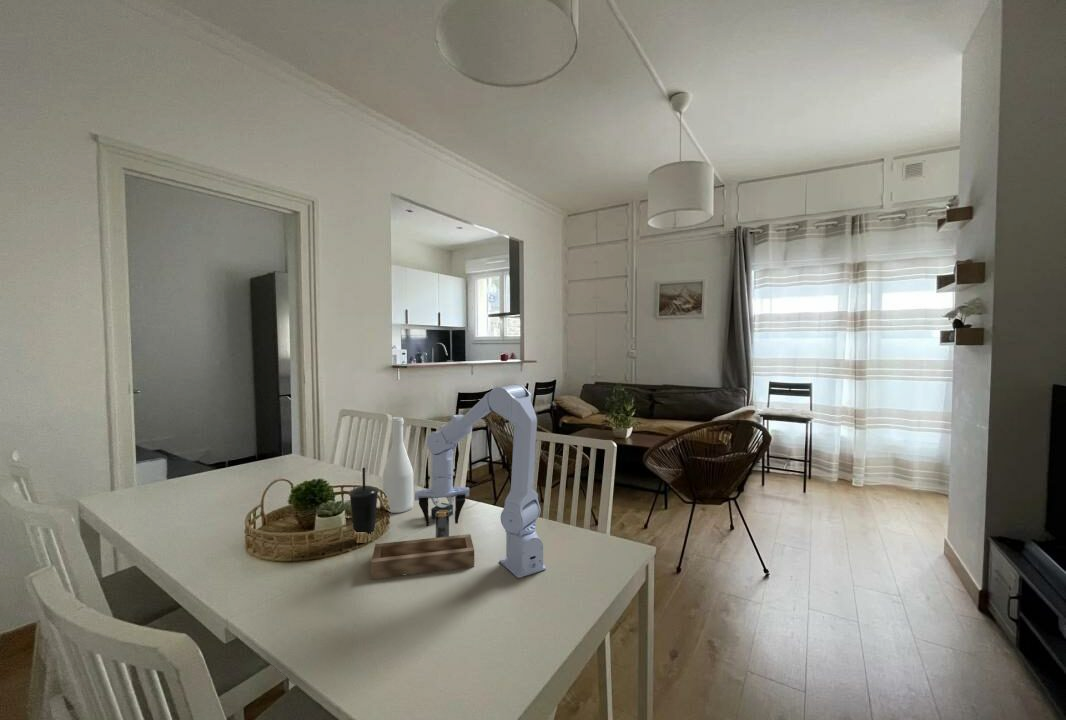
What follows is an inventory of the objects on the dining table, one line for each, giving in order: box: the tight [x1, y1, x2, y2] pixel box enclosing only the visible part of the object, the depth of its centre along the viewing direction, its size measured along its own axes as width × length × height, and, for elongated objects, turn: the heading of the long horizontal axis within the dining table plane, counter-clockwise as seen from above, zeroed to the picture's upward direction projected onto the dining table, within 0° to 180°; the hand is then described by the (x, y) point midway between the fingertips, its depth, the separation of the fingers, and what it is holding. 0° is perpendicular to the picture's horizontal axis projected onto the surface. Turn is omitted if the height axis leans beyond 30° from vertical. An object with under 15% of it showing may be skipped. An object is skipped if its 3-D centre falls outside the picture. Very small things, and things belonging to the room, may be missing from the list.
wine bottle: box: [382, 416, 414, 514], centre depth 140 cm, size 10×10×30 cm
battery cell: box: [435, 510, 450, 538], centre depth 117 cm, size 4×4×8 cm
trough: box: [370, 533, 475, 580], centre depth 105 cm, size 24×9×4 cm, turn 104°
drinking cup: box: [348, 467, 380, 534], centre depth 117 cm, size 8×8×20 cm
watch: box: [430, 485, 455, 521], centre depth 134 cm, size 6×8×11 cm
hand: (442, 523), depth 117 cm, fingers open, 7 cm apart
